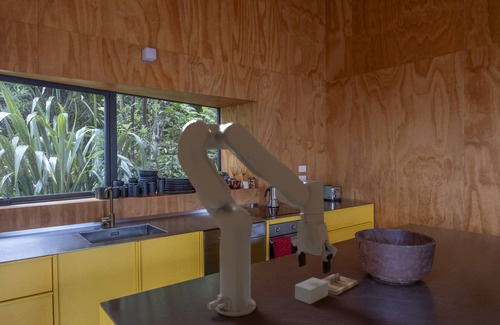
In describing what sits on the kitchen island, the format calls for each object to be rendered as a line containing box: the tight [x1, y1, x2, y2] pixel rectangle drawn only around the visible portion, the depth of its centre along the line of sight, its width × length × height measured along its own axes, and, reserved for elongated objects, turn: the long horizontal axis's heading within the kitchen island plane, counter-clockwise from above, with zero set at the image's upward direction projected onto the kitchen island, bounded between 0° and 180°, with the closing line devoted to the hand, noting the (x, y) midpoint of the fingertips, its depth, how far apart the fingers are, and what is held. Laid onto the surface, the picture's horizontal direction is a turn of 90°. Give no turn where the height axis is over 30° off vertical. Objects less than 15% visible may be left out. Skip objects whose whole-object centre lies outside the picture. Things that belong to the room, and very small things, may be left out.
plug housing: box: [294, 277, 329, 305], centre depth 115 cm, size 10×6×4 cm, turn 134°
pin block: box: [320, 272, 359, 296], centre depth 124 cm, size 14×10×4 cm
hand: (314, 269), depth 115 cm, fingers open, 9 cm apart
